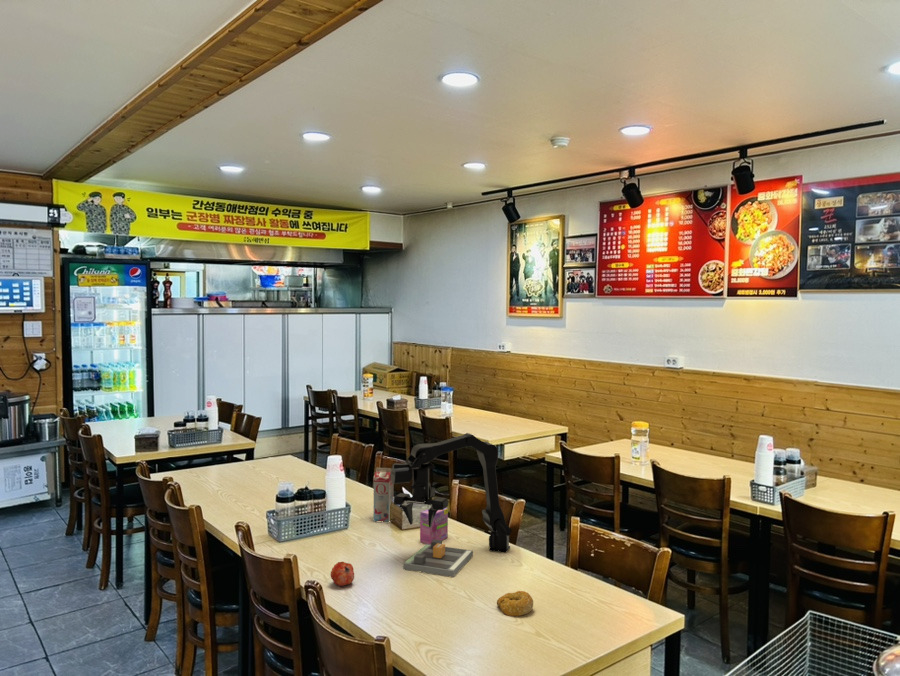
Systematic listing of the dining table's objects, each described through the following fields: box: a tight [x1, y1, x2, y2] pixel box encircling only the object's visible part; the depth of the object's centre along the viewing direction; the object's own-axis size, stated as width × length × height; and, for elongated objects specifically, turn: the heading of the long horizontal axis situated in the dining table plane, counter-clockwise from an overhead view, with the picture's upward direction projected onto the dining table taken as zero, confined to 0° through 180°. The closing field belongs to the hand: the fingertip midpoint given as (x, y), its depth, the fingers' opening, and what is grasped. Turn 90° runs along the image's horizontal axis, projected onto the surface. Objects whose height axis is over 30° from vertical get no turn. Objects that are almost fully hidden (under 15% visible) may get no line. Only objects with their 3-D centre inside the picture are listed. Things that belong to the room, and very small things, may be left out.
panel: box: [402, 539, 474, 578], centre depth 221 cm, size 18×20×4 cm
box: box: [419, 507, 449, 545], centre depth 243 cm, size 10×6×12 cm, turn 143°
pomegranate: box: [330, 561, 355, 587], centre depth 203 cm, size 7×7×10 cm
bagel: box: [496, 590, 534, 617], centre depth 186 cm, size 10×11×5 cm
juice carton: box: [373, 467, 395, 523], centre depth 267 cm, size 7×7×22 cm
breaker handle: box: [433, 543, 446, 558], centre depth 221 cm, size 3×4×4 cm
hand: (420, 525), depth 223 cm, fingers open, 7 cm apart
